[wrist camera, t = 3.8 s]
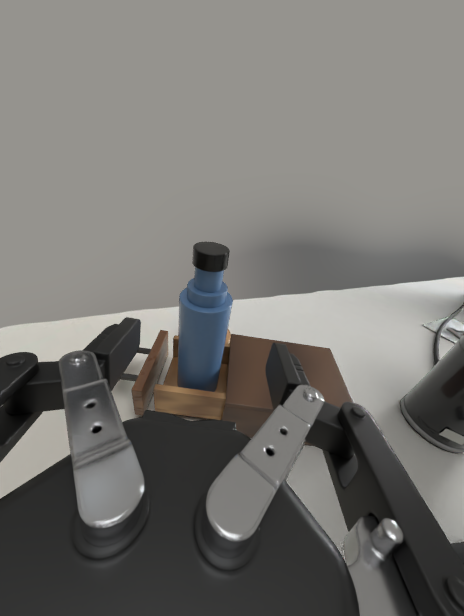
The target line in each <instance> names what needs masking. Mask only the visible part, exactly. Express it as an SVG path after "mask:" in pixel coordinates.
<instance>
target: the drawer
mask: <svg viewBox="0 0 464 616" xmlns="http://www.w3.org/2000/svg"><path fill="white" fill-rule="evenodd" d="M229 351H230V343H225V347H224V352H223V358H222V363H221V369H220V374H219V380H218V385H217V388H216V390H215V392H211V391H204V390H196V389H189V388H182V387H178V386H177V372H178V336H174V338H173V359H172V362H171V364H170V367H169V370H168V373H167V376H166V378H165V381H164V384H163V385H160V384H157V381H158V379H159V376H160V374H161V371H162V369H163V366H164V363H165V361H166V358H167V356H168V331H163V330H160V332H159V334H158V337H157V339H156V341H155V343H154V345H153V347H152V349H146V348H138V351H137V353H143V354H149V355H148V357H147V359H146V361H145V363H144V365H143V367H142V369H141V371H140V374H139V376H138V375H131V374H124V373H123V374H122V376H121V377H120V379H122V380H129V381H136V382H135V384H134V386H133V388H132V396H133V403H134V410H135V414H136V415H143V414H144V412H145V410H147V407H148V404H149V402H150V399H151V397H152V394H153V392H154V404H155V411H158V412H165V413H170V414H177V415H185V416H193V417H200V418H208V419H215V420H221V418H222V414H223V410H224V405H225V400H226V388H227V375H228V363H229ZM120 379H119V380H120ZM119 380H118V381H119Z"/></svg>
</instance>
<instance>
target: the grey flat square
mask: <svg viewBox="0 0 464 616" xmlns="http://www.w3.org/2000/svg"><path fill="white" fill-rule="evenodd" d="M448 317H449V316H448ZM448 317H445V318H442V319H439V320H436V321H433V322H430V323H427V324H423V325H424V326H426V327H427V328H429V329H431V330H432V331H434V332H436V333H437V331H438V329H439V327H440V326H441V324H442V323H443V322H444V321H445V320H446V319H447V318H448ZM463 335H464V323H462V322H460V321H458V320H456V319H455V318H452V319H451V320H450V321H449V322H448V323H447V324H446V325H445V327H444V328H443V330H442V333H441V336H443V337H444V338H446V339H448V340H449V341H450V340H451V341H452V342H454V343H457V342H458V341H459V339H460V338H461V337H462V336H463Z"/></svg>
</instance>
